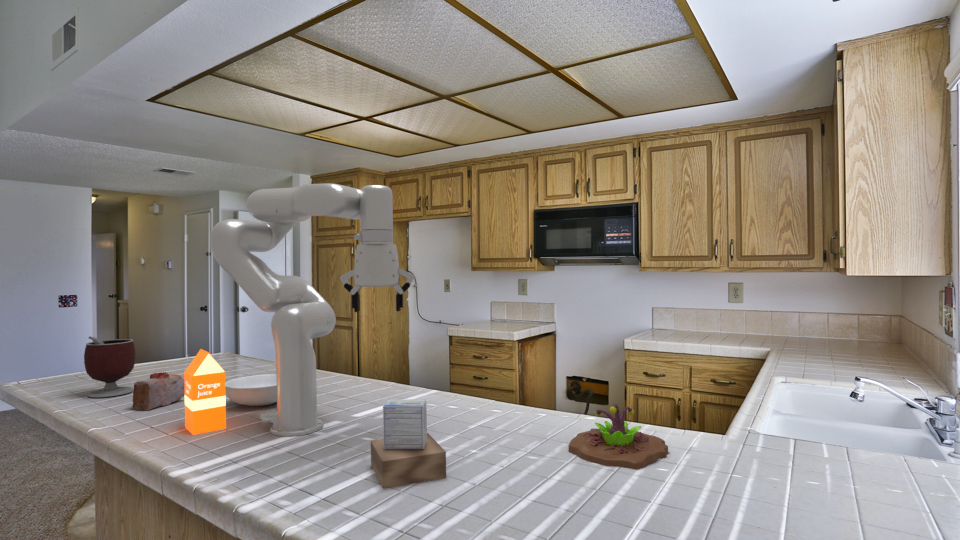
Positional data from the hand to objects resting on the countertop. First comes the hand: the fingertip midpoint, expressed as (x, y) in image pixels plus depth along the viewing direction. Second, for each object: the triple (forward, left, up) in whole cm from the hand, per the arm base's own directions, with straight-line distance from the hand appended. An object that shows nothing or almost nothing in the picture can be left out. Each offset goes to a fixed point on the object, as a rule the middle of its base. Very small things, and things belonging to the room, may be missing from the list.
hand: (377, 311), depth 119 cm
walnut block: (+8, -21, -31) cm, 38 cm away
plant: (+53, -13, -31) cm, 62 cm away
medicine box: (+8, -21, -25) cm, 34 cm away
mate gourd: (-97, +55, -31) cm, 116 cm away
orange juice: (-46, +13, -31) cm, 57 cm away
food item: (-71, +39, -31) cm, 87 cm away
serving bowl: (-41, +38, -31) cm, 64 cm away
